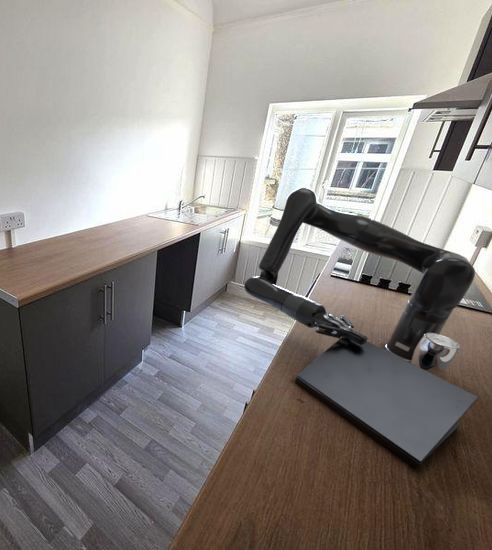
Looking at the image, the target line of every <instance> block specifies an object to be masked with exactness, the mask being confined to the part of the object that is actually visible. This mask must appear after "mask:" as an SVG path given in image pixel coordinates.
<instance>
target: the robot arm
mask: <svg viewBox="0 0 492 550" xmlns="http://www.w3.org/2000/svg"><path fill="white" fill-rule="evenodd" d="M303 224H305V225H308V226H311V227H314V228H316V229H319V230H321V231H323V232H325V233H326V234H329V236H330V235H331V236H332V237H334V238H336V239H338V240H340V241H342V242H344V243H346V244H348V245H350V246H352V247H354V248H357V249H358V250H361V251H363V252H365V253H368V254H372V255H375V256H378V257H383V258H386V259H391V260H394V261H396V262H400V263H402V264H404V265H406V266H408V267H410V268H412V269H414V270H416V271H418V272H419V273H421V274H423V275H422V278H421V279H420V281H419V283H418V285H417V287H416V289H415V290H414V291H413V292H412V293H411V294H410V297H409V299H408V301H407V302H406V305H405V306H404V309H403V311H402V313H401V315H400V317H399V319H398V321H397V323H396V325H395V327H394V329H393V331H392V333H391V335H390V337H389V339H388V341H387V343H386V344H385V346H384V350H386V351H388V352H390V353H392V354H394V355H396V356H398V357H400V358H402V359H404V360H406V361H408V362H410V363H411V360H412V356H413V353H414V350H415V348H416V346H417V344H418V343H419V341H420V340H421V338H422V337H423V336H424V334H425V333H436V334H440V333H441V332H442V330H443V328H444V326H445V325H446V323H447V321H448V319H449V317H450V316H451V314H452V312H453V311H454V310H455V309H456V308H457V307H458V306H459V305H460V303H462V300H463V299H464V297H465V296H466V294H467V292H468V291H469V289H470V287H471V286H472V284H473V282H474V280H475V277H476V270H475V268H474V266H473V265H472V264H471V262H470V261H469V260H468V258H466V257H465V256H463V255H461V254H459V253H456V252H453V251H449V250H446V249H444V248H440V247H436V246H433V245H431V244H428V243H424V242H422V241H419V240H417V239H415V238H413V237H411V236H409V235H407V234H406V233H404V232H402V231H399V230H397V229H395V228H393V227H391V226H389V225H386V224H384V223H382V222H380V221H378V220H375V219H372V218H370V217H367V216H364V215H362V214H361V215H360V214H355V213H350V212H343V211H339V210H335V209H332V208H330V207H328V206H325V205H324V204H322V203H320V202H319V201H318V196H317V194H316V193H315V191H314V190H312V189H311V188H308V187H299V188H296V189H294V190H293V191H291V192H290V193H289V194H288V196H287V197H286V199H285V204H284V209H283V211H282V215H281V218H280V221H279V223H278V225H277V228H276V230H275V232H274V234H273V235H272V237H271V239H270V241H269V243H268V245H267V247H266V249H265V250H264V252H263V255H262V256H261V259H260V260H259V263H258V269H259V271H260V275H259V276H257V275H251V276H250V277H248V278H247V279H246V280H245V281H244V283H243V288H244V291H245V292H246V293H247V295H249V296H252V297H253V298H256V299H258V300H260V301H262V302H264V303H266V304H268V305H269V306H271V307H273V308H274V309H276V310H278V311H279V312H281V313H283V314H285V315H286V316H287V317H289V318H290V319H292V320H295V321H296V322H298V323H300V324H301V325H304V326H305V327H307V328H309V329H312V328H313V329H314V328H315V333H316V334H319V335H324V336H327V337H331V338H336V339H340V338H341V337H343V338H348V339H350V340H352V341H354V342H356V343H358V344H360V345H363V344H365V343H366V341H367V342H368V340H369V339H368V336H366V335H364V334H362V333H360V332H358V331H356V330H354V328H355V325H354V324H353V323H352V322H351V321H350V320H349V319H348V317H346V316H344V315H340V317H338V316H335V315H334V314H332V313H328V312H326V307H325V306H324V305H322V304H321V303H318V302H316V301H314V300H311V299H310V298H307V297H306V296H303V295H300V294H298V293H295V292H292V291H290V290H288V289H286V288H284V287H281V286H278V285H277V282H278V280H279V274H280V272H281V271H280V270H281V269H282V268H283V266H284V263H285V261H286V259H287V257H288V255H289V253H290V251H291V247H292V245H293V242H294V240H295V238H296V235H297V233H298V232H299V230H300V228H301V227H302V225H303Z"/></svg>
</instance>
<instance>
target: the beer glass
mask: <svg viewBox="0 0 492 550" xmlns="http://www.w3.org/2000/svg"><path fill="white" fill-rule="evenodd" d="M460 347H461V345H460V344H459V343H458V342H457V341H456V340H454V339H452V338H451V337H448V336H446V335H443V334H440V333H439V334H436V333H425V334H424V336H423V337H422V338H421V340H420V341H419V343H418V344H417V346H416V348H415V350H414V353H413V356H412V360H411V363H412V364H414V365H416V366H418V367H420V368H422V369H424V370H426V371H428V372H430V373H432V374H434V375H436V376H438V377H440V375H441V374H443V373H444V372H445V371H446V370H447V369H448V367H449V366H450V365H451V364H452V362H453V361H454V359H455V357H456V355H457V353H458V351H459V349H460Z"/></svg>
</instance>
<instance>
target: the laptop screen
mask: <svg viewBox="0 0 492 550" xmlns="http://www.w3.org/2000/svg"><path fill="white" fill-rule="evenodd" d="M297 377H298V378H299V379H301V380H302V381H304V382H305V383H306V384H308V385H309V386H311V387H312V388H314V389H315V390H316V391H318V392H319V393H321V394H322V395H324V396H325V397H326V398H328V399H329V400H331V401H332V402H333V403H335V404H336V405H338V406H339V407H341V408H342V409H343V410H345V411H346V412H348V413H349V414H350V415H352V416H353V417H355V418H356V419H358V420H359V421H360V422H362V423H363V424H365V425H366V426H367V427H369V428H370V429H372V430H373V431H375V432H376V433H377V434H379V435H380V436H382V437H383V438H385V439H386V440H387V441H389V442H390V443H392V444H393V445H394V446H396V447H397V448H399V449H400V450H402V451H403V452H404V453H406V454H407V455H409V456H410V457H411V458H413V459H414V460H416V461H417V462H419V463H421V462H422V461H423V460H424V459H425V457H426V456H427V455H428V454H429V453H430V452H431V451H432V450H433V449H434V447H435V446H436V445H437V444H438V443H439V442H440V441H441V440H442V438H443V437H444V436H445V435H446V434H447V433H448V432H449V431H450V429H451V428H452V427H453V426H454V425H455V424H456V423H459V421H460V420H461V418H462V417H463V416H464V415H465V414H466V413H467V412H468V411H469V409H471V407H472V406H473V405H474V403H475V402H477V400H479V398H480V397H479V396H478V395H476V394H475V393H474V394H473V393H472V392H470V391H467V390H466V389H463V388H462V387H460V386H457V385H455V384H454V383H452V382H450V381H448V380H446V379H444V378H442V377H440V376H436V375H434V374H432V373H430V372H428V371H426V370H424V369H422V368H420V367H418V366H416V365H414V364H412V363H410V362H408V361H406V360H404V359H402V358H400V357H398V356H396V355H394V354H392V353H390V352H388V351H387V350H386V349H385V348H382V347H380V346H378V345H375V344H374V343H372V342H370V341H368V340H367V341H366V343H365V344H363V345H360V344H358V343H356V342H354V341H352V340H350V339H348V338H343V337H341V338H338V339H337V341H335V342H333V344H332V345H331V346H329V347H328V348H327V349H326V350H325V351H324V352H322V353H321V354H320V355H319V356H318V357H317V358H315V359H314V360H312V361H311V363H309V364H308V365H306V367H304V369H302V370H301V371H300V372H299V373H298V374H297V375H296V378H297Z"/></svg>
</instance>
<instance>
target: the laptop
mask: <svg viewBox="0 0 492 550" xmlns="http://www.w3.org/2000/svg"><path fill="white" fill-rule="evenodd" d="M294 383H296V385H298V386H300V387H301V388H302V389H303V390H305V391H306V392H308V393H309V394H310V395H312V396H314V398H316V399H317V400H318V401H320V402H322V404H324V405H326V406H327V407H328V408H330V409H331V410H333V411H334V412H335V413H337V414H338V415H339V416H341V417H342V418H344V420H347V422H349V423H350V424H352V425H354V426H355V427H356V428H357V429H359V430H360V431H362V432H363V433H364V434H366V435H367V436H368V437H370V438H371V439H373V440H374V441H376V443H378V444H379V445H381V446H382V447H384V448H385V449H386V450H388V451H389V452H390V453H392V454H393V455H395V457H397V458H399V459H400V460H401V461H403V462H404V463H406V464H407V465H408V466H410V467H411V468H412V469H414V470H415V471H416V470H417V469H418V468H419V467H421V465H423V464H424V463H425V462H426V461H427V460H428V459H429V458H430V457H431V456H432V454H434V453H435V452H436V450H438V449H439V448H440V447H441V446H442V445H443V444H444V443H445V442H446V441H447V440H448V439H450V438H451V436H453V434H454V433H456V431H457V430H458V429H459V427H460V426H461V424H460V423H459V422H457V423H456V424H455V425H454V426H453V427H452V428H451V429H450V431H449V432H448V433H447V434H446V435H445V436H444V437H443V438H442V440H441V441H440V442H439V443H438V444H437V445H436V446H435V447H434V449H433V450H432V451H431V452H430V453H429V454H428V455H427V456H426V457H425V459H424V460H423V461H422V462H421V463H419V462H417V461H416V460H414V459H413V458H411V457H410V456H409V455H407V454H406V453H404V452H403V451H402V450H400V449H399V448H397V447H396V446H394V445H393V444H392V443H390V442H389V441H387V440H386V439H385V438H383V437H382V436H380V435H379V434H377V433H376V432H375V431H373V430H372V429H370V428H369V427H367V426H366V425H365V424H363V423H362V422H360V421H359V420H358V419H356V418H355V417H353V416H352V415H350V414H349V413H348V412H346V411H345V410H343V409H342V408H341V407H339V406H338V405H336V404H335V403H333V402H332V401H331V400H329V399H328V398H326V397H325V396H324V395H322V394H321V393H319V392H318V391H316V390H315V389H314V388H312V387H311V386H309V385H308V384H306V383H305V382H304V381H302V380H301V379H299V378H298V377H297V376H296V378H295V381H294Z"/></svg>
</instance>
